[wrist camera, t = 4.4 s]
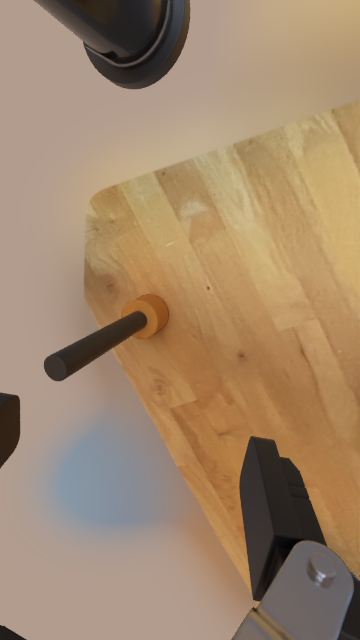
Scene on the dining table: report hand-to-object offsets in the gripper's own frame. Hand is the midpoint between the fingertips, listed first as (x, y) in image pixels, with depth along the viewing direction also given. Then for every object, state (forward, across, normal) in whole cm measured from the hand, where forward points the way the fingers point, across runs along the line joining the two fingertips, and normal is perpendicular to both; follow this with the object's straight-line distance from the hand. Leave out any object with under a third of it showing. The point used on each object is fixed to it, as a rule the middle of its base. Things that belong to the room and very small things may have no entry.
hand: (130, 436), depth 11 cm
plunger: (+30, +3, +5) cm, 31 cm away
